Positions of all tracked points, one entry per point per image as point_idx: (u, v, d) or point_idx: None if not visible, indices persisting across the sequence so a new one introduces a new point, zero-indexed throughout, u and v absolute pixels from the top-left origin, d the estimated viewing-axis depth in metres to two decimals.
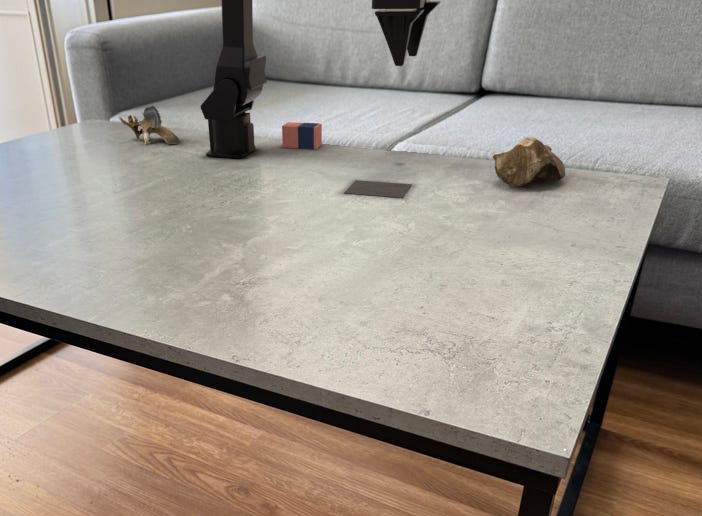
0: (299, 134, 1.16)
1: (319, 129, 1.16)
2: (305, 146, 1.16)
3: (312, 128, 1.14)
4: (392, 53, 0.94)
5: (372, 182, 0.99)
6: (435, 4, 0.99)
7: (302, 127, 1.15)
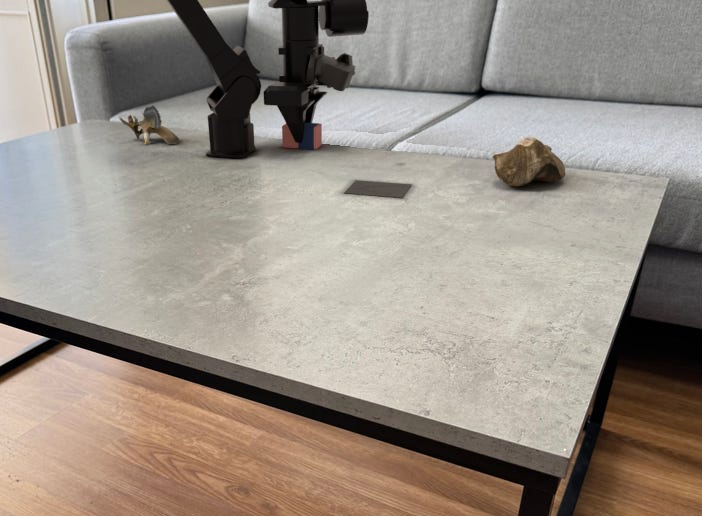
0: None
1: (319, 129, 1.16)
2: (305, 146, 1.16)
3: (312, 128, 1.14)
4: (292, 133, 1.15)
5: (372, 182, 0.99)
6: (321, 96, 1.15)
7: None
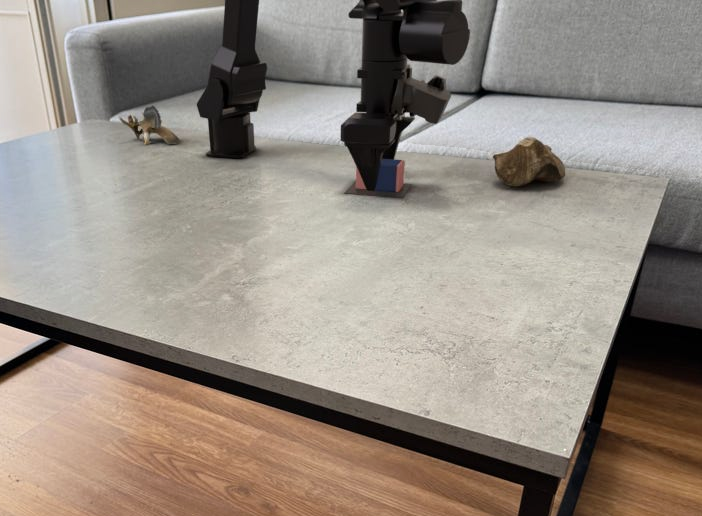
0: None
1: (402, 167, 0.94)
2: (385, 188, 0.95)
3: (395, 167, 0.93)
4: (363, 179, 0.91)
5: None
6: (409, 123, 0.96)
7: (382, 165, 0.93)
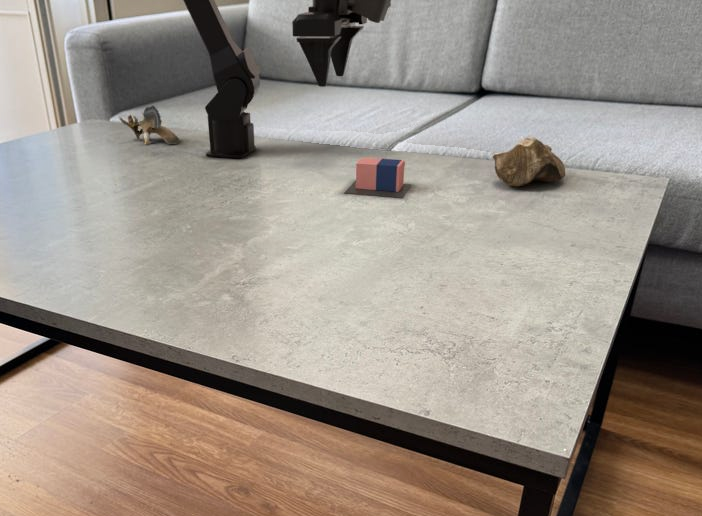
0: (378, 173, 0.94)
1: (402, 167, 0.94)
2: (385, 188, 0.95)
3: (395, 167, 0.93)
4: (315, 75, 1.03)
5: None
6: (358, 29, 1.08)
7: (382, 165, 0.93)
